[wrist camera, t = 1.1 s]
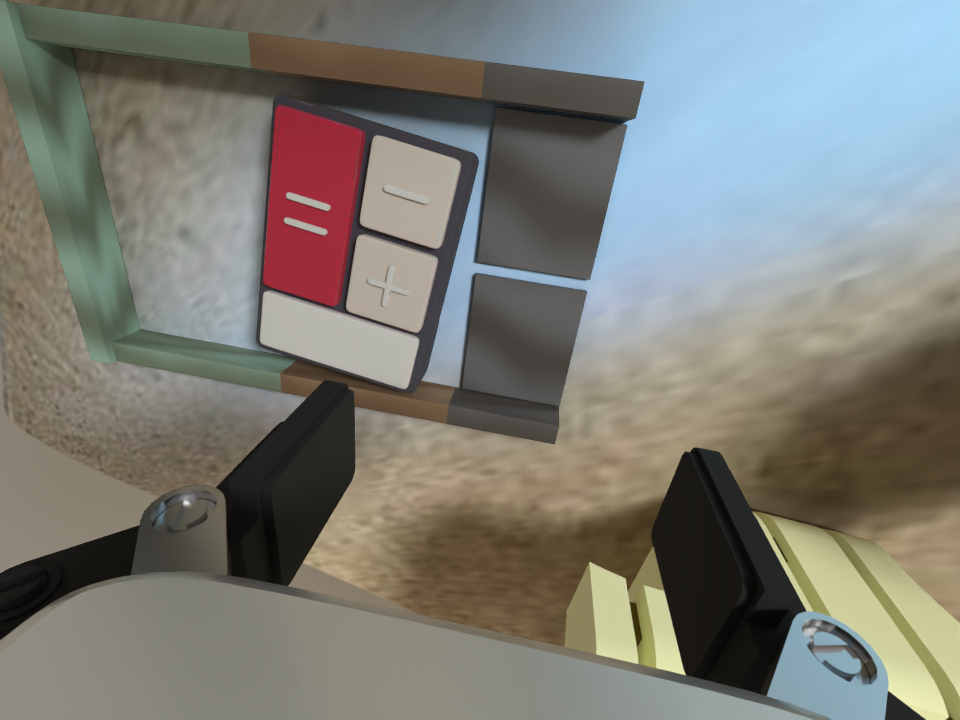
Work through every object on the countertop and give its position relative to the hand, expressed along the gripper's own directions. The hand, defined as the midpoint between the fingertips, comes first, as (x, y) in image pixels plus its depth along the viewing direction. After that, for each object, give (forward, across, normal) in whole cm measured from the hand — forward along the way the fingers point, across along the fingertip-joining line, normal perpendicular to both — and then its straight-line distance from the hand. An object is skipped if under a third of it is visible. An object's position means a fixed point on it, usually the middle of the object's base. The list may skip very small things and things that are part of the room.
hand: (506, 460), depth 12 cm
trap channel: (+18, +14, 0) cm, 23 cm away
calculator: (+19, +11, 0) cm, 22 cm away
